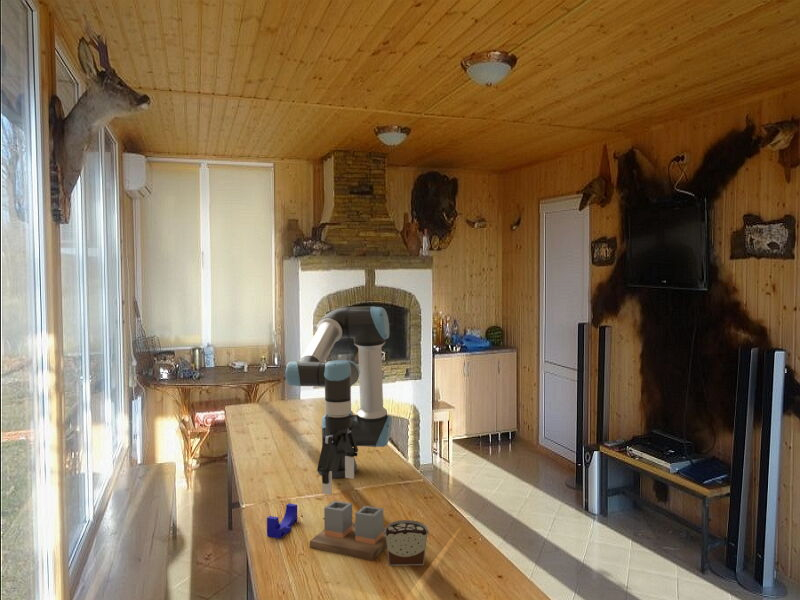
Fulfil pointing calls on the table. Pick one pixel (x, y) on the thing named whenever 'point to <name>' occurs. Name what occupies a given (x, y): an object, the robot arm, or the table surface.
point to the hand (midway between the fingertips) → (338, 485)
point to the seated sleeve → (369, 525)
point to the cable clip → (285, 526)
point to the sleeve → (338, 519)
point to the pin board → (349, 545)
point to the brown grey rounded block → (406, 542)
